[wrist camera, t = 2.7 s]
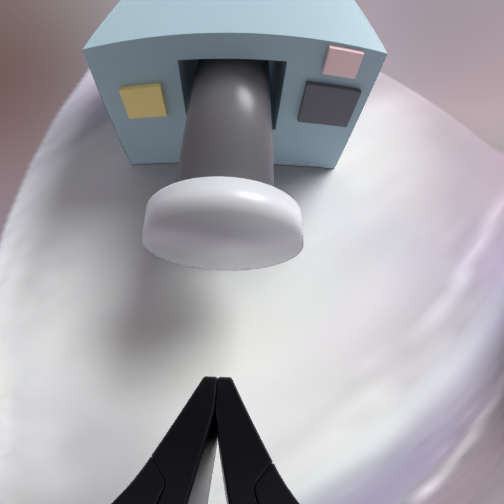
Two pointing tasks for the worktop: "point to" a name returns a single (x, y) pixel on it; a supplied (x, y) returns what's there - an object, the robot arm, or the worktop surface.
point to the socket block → (236, 47)
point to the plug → (225, 179)
